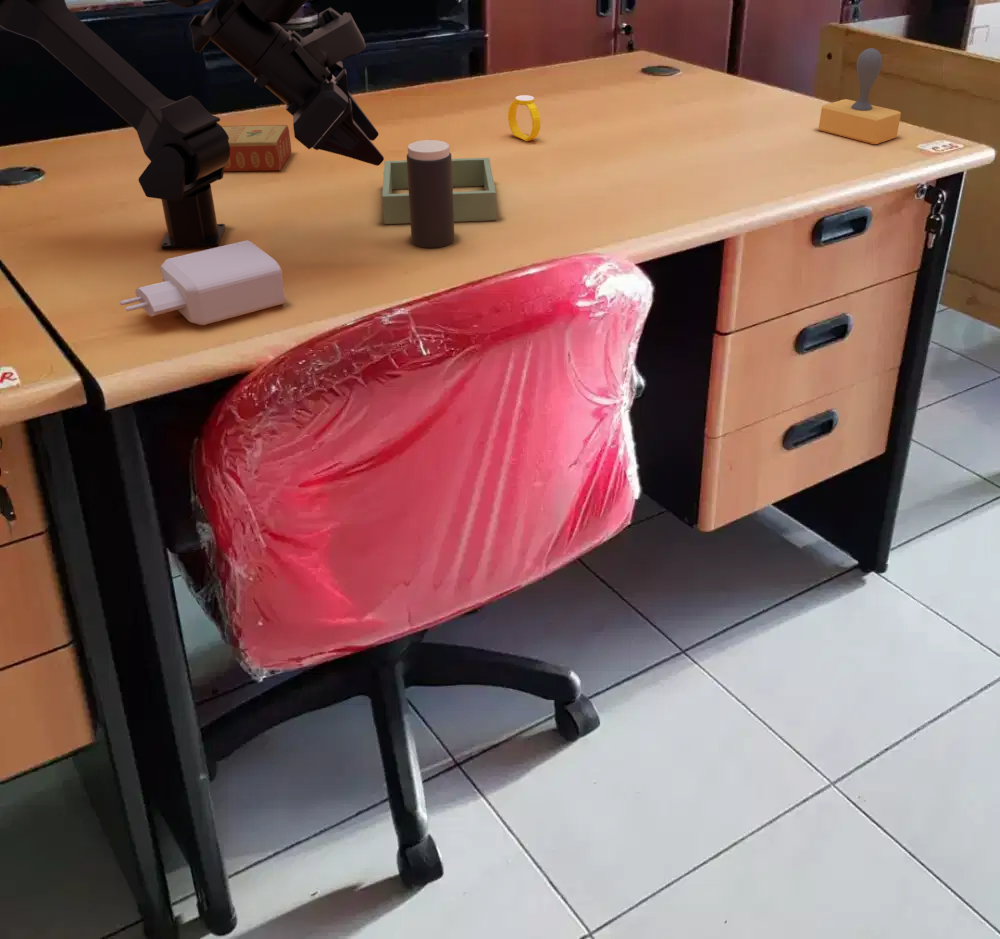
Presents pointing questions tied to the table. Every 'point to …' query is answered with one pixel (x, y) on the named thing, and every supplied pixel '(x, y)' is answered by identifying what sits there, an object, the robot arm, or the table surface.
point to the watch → (535, 116)
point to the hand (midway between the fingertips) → (378, 149)
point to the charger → (214, 284)
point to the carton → (257, 147)
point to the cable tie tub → (430, 193)
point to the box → (464, 202)
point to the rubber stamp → (861, 108)
